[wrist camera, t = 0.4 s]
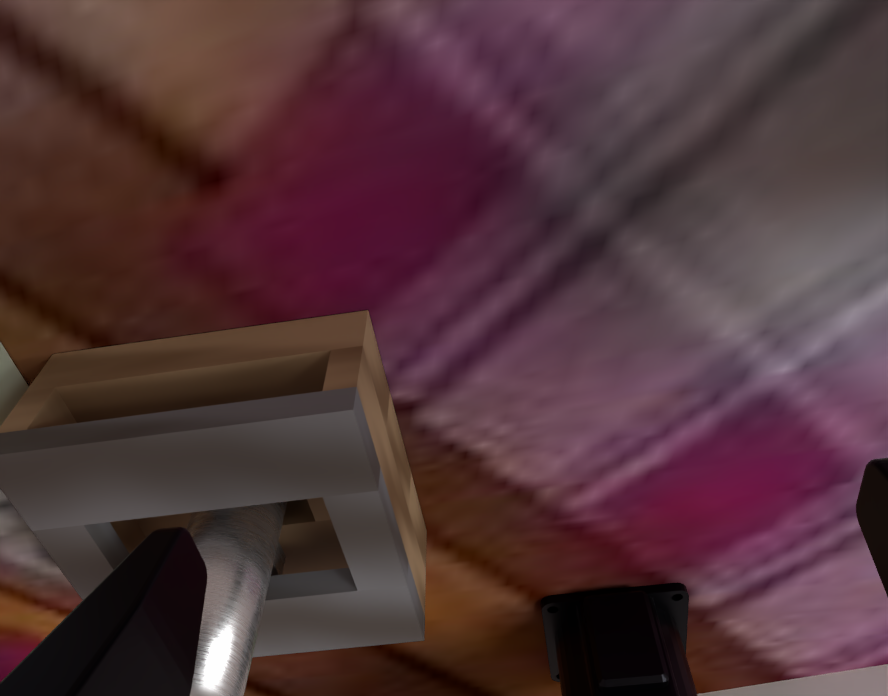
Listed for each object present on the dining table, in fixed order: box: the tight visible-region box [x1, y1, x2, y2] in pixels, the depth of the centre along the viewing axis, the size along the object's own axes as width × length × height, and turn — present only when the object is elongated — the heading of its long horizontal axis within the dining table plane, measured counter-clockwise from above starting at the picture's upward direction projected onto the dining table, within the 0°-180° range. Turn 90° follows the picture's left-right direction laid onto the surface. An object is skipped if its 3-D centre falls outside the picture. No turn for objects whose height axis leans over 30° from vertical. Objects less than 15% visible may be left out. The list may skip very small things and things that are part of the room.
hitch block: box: [0, 310, 427, 657], centre depth 26 cm, size 11×11×5 cm
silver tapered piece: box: [186, 501, 288, 696], centre depth 24 cm, size 6×3×10 cm, turn 9°
